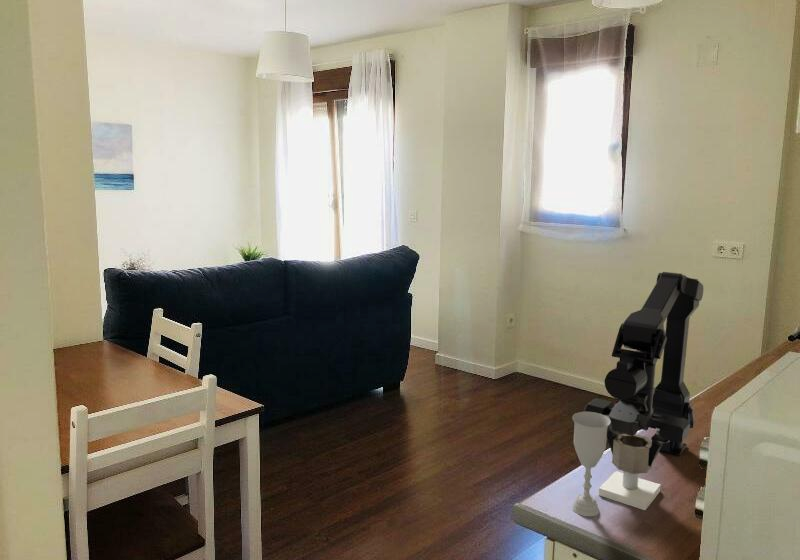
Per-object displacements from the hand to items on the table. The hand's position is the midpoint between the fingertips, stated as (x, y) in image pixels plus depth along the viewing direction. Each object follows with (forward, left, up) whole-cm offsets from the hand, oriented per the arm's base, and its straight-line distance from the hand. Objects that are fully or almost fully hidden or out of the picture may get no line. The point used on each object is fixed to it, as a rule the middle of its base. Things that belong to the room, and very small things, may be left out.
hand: (632, 460), depth 126 cm
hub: (0, 0, -1) cm, 1 cm away
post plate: (0, 0, -7) cm, 7 cm away
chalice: (+11, -4, -7) cm, 14 cm away
